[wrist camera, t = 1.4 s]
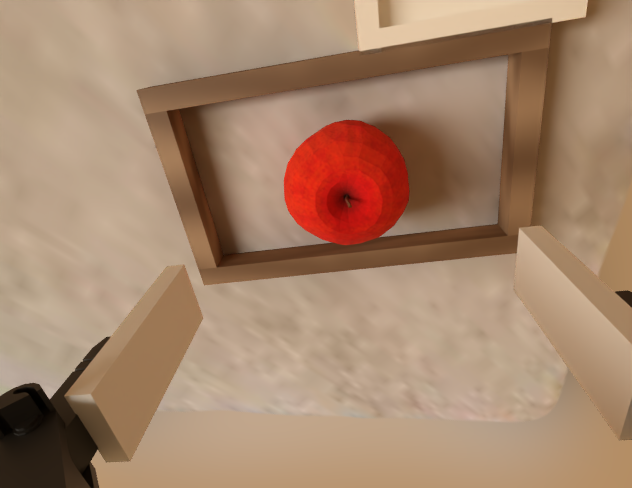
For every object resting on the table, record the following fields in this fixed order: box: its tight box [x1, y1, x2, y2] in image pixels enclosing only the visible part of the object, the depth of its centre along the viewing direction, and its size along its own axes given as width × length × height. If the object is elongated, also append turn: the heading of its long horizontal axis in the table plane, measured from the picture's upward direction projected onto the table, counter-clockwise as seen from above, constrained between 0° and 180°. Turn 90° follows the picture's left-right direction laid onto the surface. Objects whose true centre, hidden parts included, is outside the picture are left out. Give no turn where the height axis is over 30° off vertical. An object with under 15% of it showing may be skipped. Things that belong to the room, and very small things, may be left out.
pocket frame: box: [137, 18, 552, 285], centre depth 27 cm, size 15×25×2 cm, turn 99°
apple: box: [284, 120, 409, 245], centre depth 25 cm, size 8×8×7 cm
